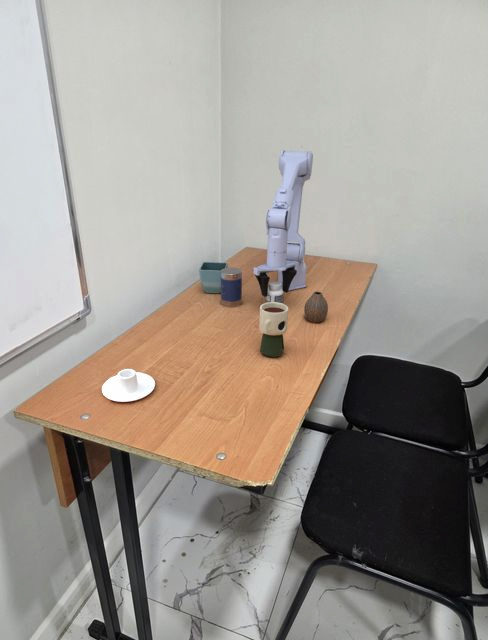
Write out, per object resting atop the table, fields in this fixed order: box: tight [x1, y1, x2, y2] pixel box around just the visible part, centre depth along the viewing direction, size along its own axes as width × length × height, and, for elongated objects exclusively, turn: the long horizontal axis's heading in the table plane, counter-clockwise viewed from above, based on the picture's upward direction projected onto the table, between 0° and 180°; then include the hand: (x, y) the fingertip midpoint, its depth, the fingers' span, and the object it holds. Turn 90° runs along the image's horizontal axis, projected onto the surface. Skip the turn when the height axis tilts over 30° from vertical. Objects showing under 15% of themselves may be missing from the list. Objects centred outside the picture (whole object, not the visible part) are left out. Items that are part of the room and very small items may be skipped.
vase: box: [303, 290, 329, 324], centre depth 132 cm, size 7×7×9 cm
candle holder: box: [101, 368, 156, 403], centre depth 101 cm, size 12×12×4 cm
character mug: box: [258, 302, 289, 358], centre depth 114 cm, size 11×7×13 cm, turn 154°
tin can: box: [220, 266, 243, 308], centre depth 143 cm, size 7×7×11 cm
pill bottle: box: [265, 280, 284, 304], centre depth 138 cm, size 5×5×9 cm
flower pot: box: [198, 261, 229, 294], centre depth 152 cm, size 9×9×9 cm
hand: (274, 293), depth 138 cm, fingers open, 7 cm apart
